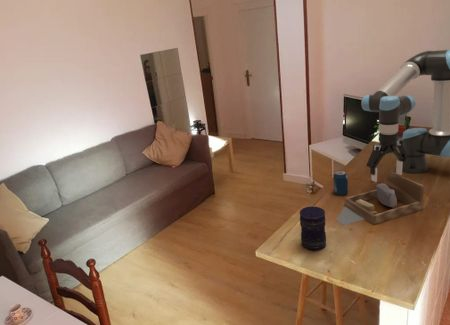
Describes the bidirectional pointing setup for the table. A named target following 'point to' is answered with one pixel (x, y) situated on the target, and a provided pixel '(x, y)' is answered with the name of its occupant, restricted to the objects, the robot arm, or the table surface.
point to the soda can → (340, 182)
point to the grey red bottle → (401, 126)
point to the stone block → (386, 195)
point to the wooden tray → (403, 191)
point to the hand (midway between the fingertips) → (386, 177)
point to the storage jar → (313, 228)
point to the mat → (348, 217)
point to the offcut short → (365, 205)
